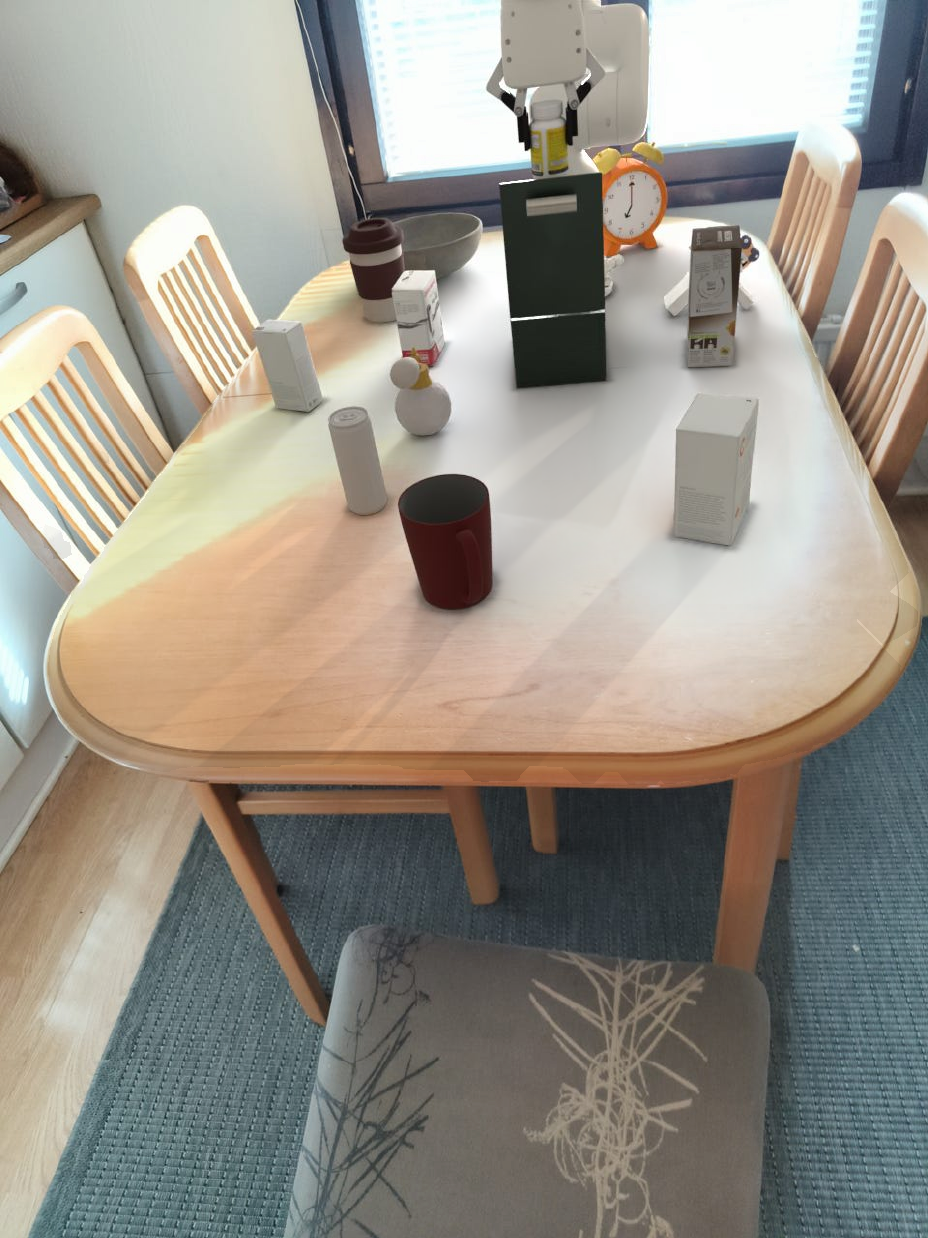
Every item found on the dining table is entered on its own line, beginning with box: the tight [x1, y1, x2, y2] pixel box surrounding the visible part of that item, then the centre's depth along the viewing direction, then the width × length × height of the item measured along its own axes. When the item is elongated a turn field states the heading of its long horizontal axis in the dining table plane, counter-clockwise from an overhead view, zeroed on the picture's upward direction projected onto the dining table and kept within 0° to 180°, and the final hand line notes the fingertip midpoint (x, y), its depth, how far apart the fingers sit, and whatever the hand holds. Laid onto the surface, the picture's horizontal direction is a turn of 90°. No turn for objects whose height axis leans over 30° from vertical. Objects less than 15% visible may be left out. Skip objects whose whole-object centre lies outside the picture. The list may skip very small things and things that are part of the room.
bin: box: [510, 309, 607, 389], centre depth 127 cm, size 16×13×10 cm
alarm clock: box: [591, 133, 669, 258], centre depth 156 cm, size 13×6×20 cm, turn 103°
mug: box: [397, 473, 494, 610], centre depth 88 cm, size 12×9×11 cm
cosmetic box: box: [251, 318, 324, 413], centre depth 126 cm, size 6×4×12 cm
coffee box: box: [686, 224, 742, 368], centre depth 121 cm, size 9×6×16 cm
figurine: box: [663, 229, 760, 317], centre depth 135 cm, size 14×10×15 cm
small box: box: [672, 391, 760, 547], centre depth 92 cm, size 8×6×13 cm
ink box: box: [392, 270, 446, 367], centre depth 134 cm, size 9×5×12 cm, turn 168°
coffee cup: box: [341, 217, 405, 324], centre depth 147 cm, size 10×10×15 cm
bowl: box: [392, 212, 484, 280], centre depth 162 cm, size 21×21×8 cm
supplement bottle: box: [529, 99, 569, 180], centre depth 113 cm, size 5×5×8 cm
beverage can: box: [327, 405, 388, 516], centre depth 103 cm, size 5×5×12 cm
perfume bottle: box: [389, 347, 452, 436], centre depth 114 cm, size 8×10×12 cm
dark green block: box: [498, 172, 606, 319], centre depth 112 cm, size 16×13×5 cm
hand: (548, 143), depth 114 cm, fingers closed on supplement bottle, 4 cm apart
